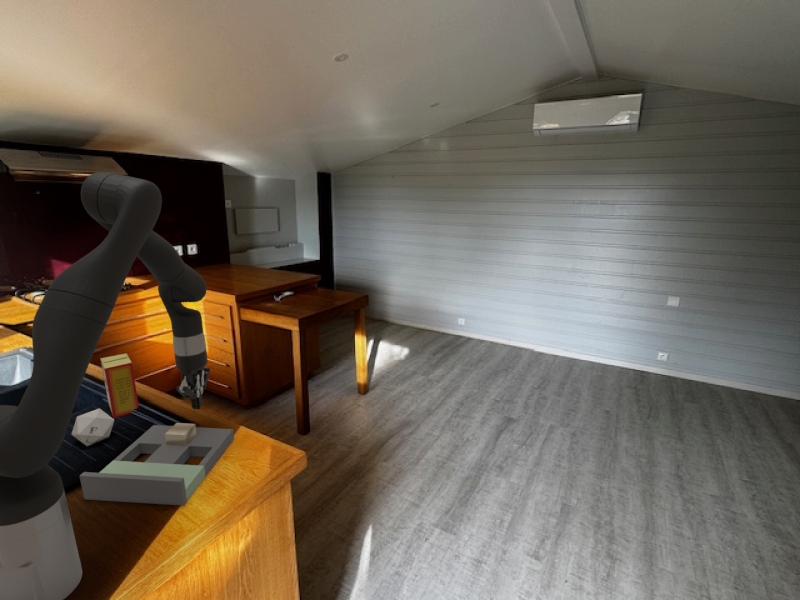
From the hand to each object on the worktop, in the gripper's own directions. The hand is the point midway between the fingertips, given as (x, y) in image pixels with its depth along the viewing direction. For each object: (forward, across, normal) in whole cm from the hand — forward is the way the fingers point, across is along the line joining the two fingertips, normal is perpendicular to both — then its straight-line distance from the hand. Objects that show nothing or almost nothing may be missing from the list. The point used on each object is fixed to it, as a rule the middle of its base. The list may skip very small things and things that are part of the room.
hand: (197, 407), depth 110 cm
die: (+7, -6, +25) cm, 27 cm away
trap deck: (+7, -15, 0) cm, 16 cm away
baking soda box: (+8, +10, +29) cm, 32 cm away
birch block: (+4, -8, 0) cm, 9 cm away
